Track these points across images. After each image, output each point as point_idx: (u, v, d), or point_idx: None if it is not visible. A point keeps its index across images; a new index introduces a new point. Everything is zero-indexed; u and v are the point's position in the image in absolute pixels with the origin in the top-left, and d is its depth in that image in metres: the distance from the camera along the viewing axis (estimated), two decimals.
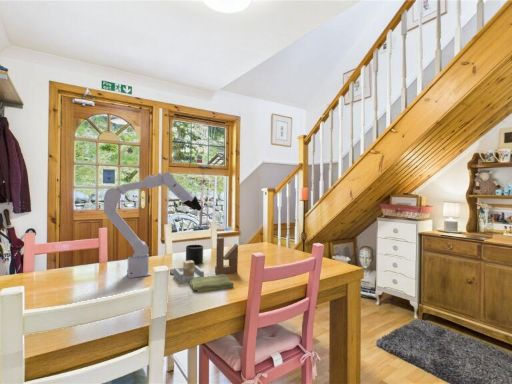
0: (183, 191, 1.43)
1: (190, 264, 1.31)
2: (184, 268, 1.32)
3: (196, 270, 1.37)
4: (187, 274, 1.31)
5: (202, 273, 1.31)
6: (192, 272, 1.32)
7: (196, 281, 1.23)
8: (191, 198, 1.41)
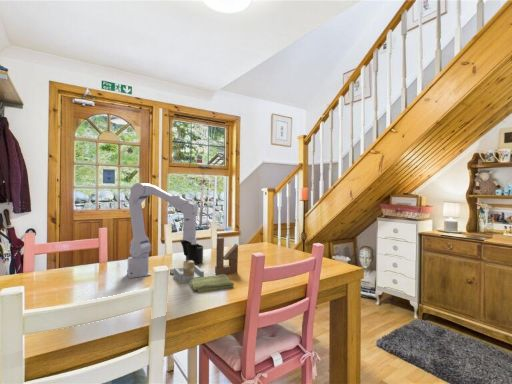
0: (192, 231, 1.31)
1: (190, 264, 1.31)
2: (184, 268, 1.32)
3: (196, 270, 1.37)
4: (187, 274, 1.31)
5: (202, 273, 1.31)
6: (192, 272, 1.32)
7: (196, 281, 1.23)
8: (194, 242, 1.27)
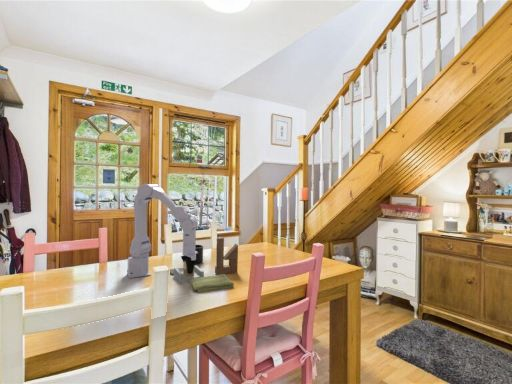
0: (192, 246, 1.31)
1: None
2: (184, 268, 1.32)
3: (196, 270, 1.37)
4: (187, 274, 1.31)
5: (202, 273, 1.31)
6: None
7: (196, 281, 1.23)
8: (194, 258, 1.27)
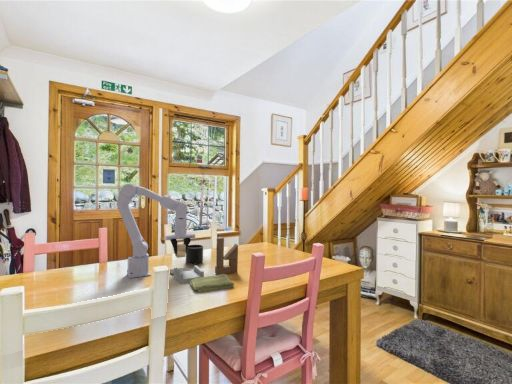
0: (175, 228, 1.40)
1: None
2: None
3: (196, 270, 1.37)
4: (175, 254, 1.42)
5: (202, 273, 1.31)
6: (177, 254, 1.40)
7: (196, 281, 1.23)
8: (165, 238, 1.39)
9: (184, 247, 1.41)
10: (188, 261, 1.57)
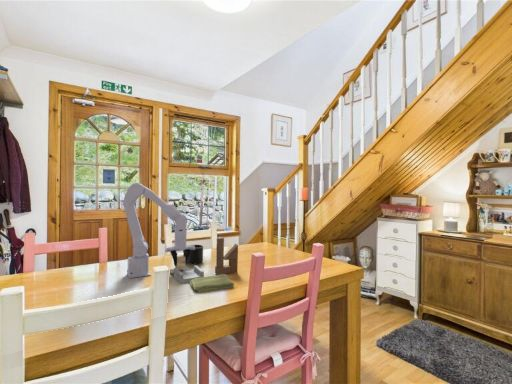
0: (175, 240, 1.40)
1: None
2: None
3: (196, 270, 1.37)
4: (175, 266, 1.43)
5: (202, 273, 1.31)
6: (176, 266, 1.40)
7: (196, 281, 1.23)
8: (165, 250, 1.39)
9: (184, 259, 1.41)
10: (188, 261, 1.57)
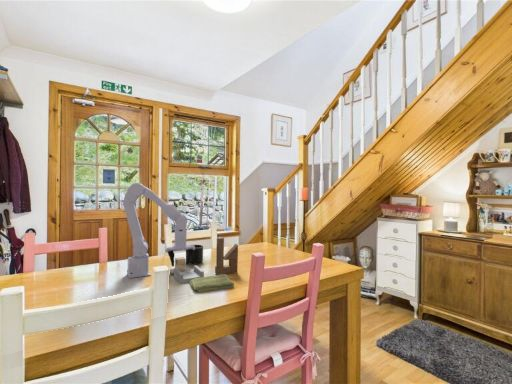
0: (175, 240, 1.40)
1: (176, 260, 1.41)
2: None
3: (196, 270, 1.37)
4: None
5: (202, 273, 1.31)
6: None
7: (196, 281, 1.23)
8: (165, 250, 1.39)
9: (184, 261, 1.41)
10: None
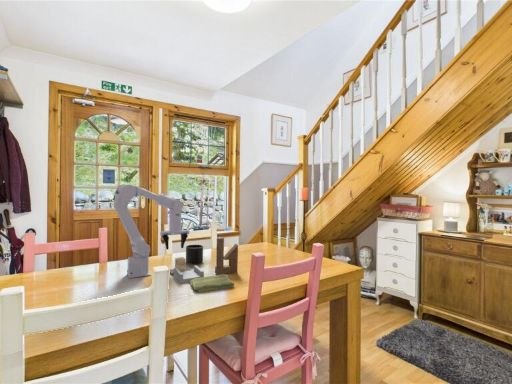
0: (170, 224, 1.46)
1: (176, 260, 1.41)
2: None
3: (196, 270, 1.37)
4: None
5: (202, 273, 1.31)
6: None
7: (197, 281, 1.23)
8: (160, 233, 1.44)
9: (184, 261, 1.41)
10: (188, 261, 1.57)
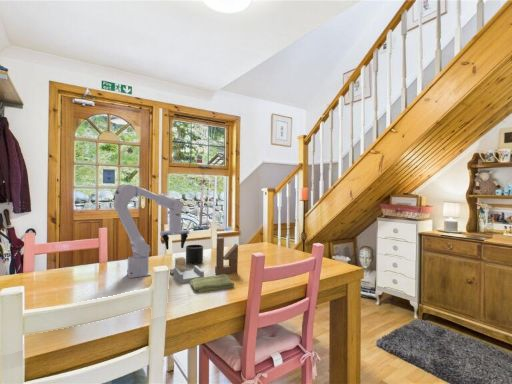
0: (170, 224, 1.46)
1: (176, 260, 1.41)
2: None
3: (196, 270, 1.37)
4: None
5: (202, 273, 1.31)
6: None
7: (197, 281, 1.23)
8: (160, 233, 1.44)
9: (184, 261, 1.41)
10: (188, 261, 1.57)
